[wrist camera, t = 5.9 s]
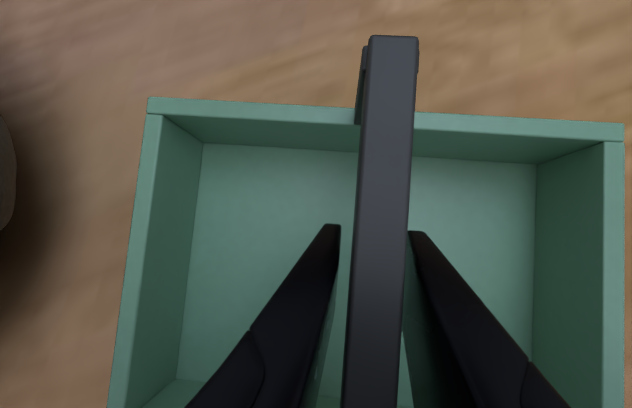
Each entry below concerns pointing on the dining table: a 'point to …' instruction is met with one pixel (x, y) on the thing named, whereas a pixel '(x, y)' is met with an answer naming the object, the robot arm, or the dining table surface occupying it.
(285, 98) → the dining table surface
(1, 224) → the gourd
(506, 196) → the sage basket
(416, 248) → the robot arm
